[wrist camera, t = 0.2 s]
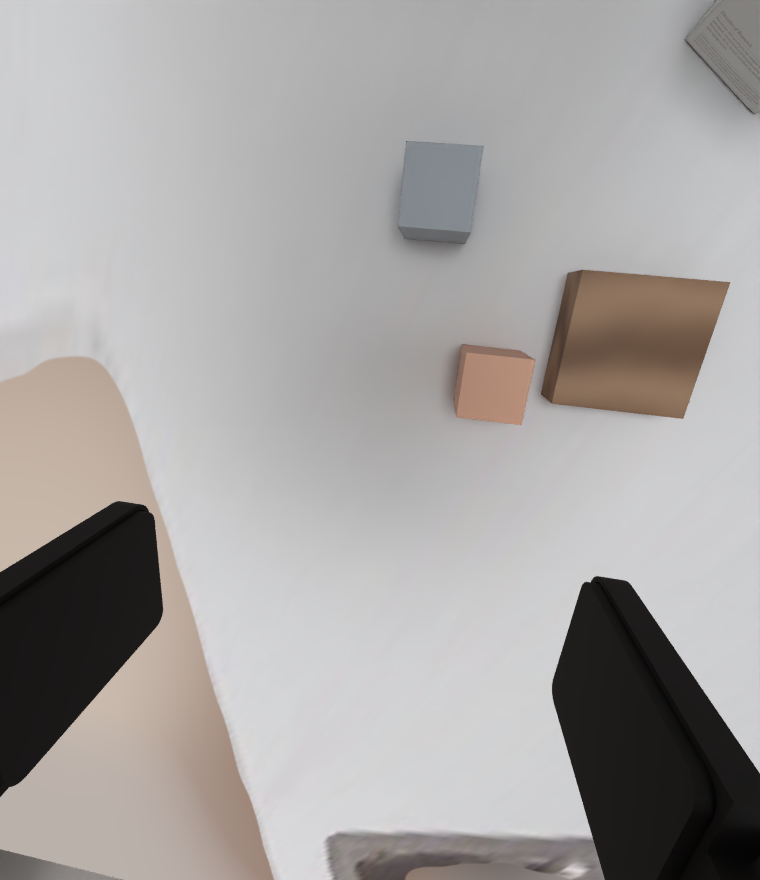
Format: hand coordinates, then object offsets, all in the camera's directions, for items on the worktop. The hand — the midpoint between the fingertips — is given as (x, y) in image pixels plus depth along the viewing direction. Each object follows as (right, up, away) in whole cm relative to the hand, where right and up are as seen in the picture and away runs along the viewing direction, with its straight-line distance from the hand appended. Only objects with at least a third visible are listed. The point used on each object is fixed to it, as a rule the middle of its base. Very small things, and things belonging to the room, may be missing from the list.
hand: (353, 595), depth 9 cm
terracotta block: (+10, +9, +28) cm, 31 cm away
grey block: (+5, +22, +24) cm, 33 cm away
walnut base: (+20, +12, +26) cm, 35 cm away
